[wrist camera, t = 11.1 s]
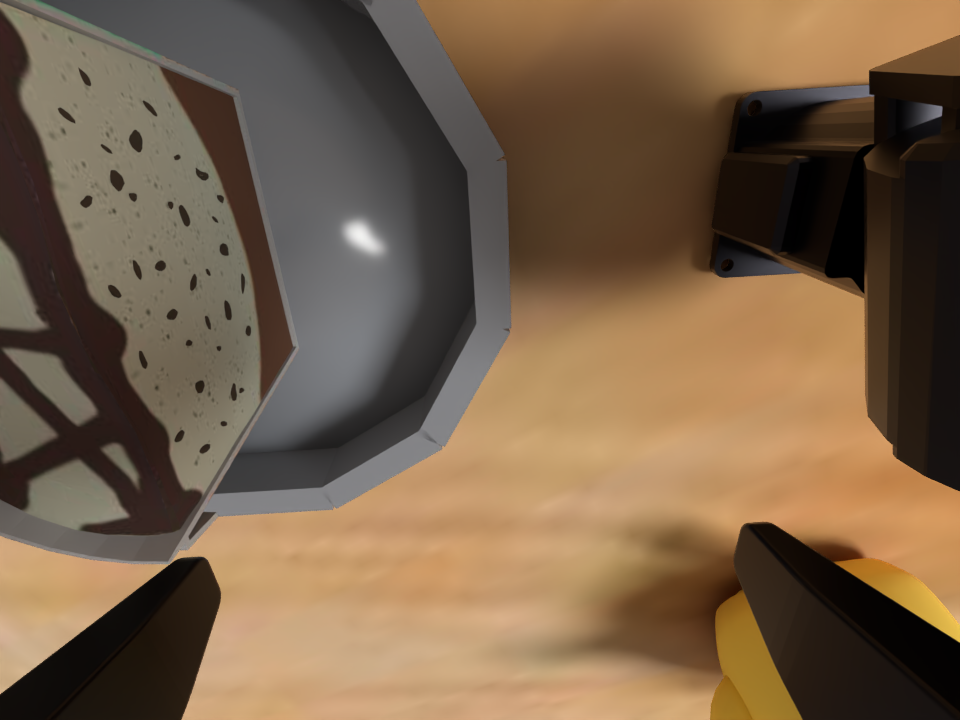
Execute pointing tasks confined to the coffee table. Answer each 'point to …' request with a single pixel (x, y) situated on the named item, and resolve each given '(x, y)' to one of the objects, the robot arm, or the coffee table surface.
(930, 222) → the robot arm
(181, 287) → the food container
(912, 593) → the teapot
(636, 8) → the coffee table surface
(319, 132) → the bowl
